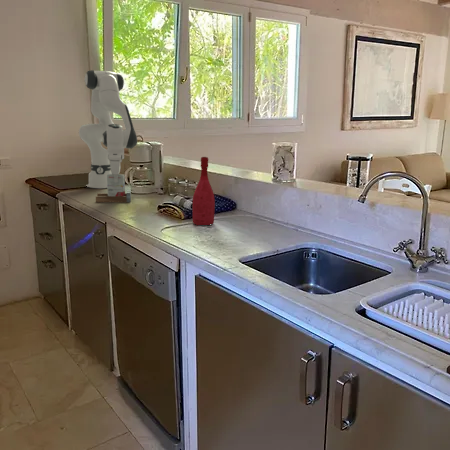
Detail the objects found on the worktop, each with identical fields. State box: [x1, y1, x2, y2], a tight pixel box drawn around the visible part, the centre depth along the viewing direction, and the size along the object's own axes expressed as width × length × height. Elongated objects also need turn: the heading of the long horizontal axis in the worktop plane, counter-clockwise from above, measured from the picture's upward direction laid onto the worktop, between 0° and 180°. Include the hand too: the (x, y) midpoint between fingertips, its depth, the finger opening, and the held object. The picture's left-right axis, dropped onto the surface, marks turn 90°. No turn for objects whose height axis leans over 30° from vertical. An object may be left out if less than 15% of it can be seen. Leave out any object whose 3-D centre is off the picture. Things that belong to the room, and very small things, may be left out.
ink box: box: [106, 173, 126, 196], centre depth 250 cm, size 9×5×12 cm, turn 86°
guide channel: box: [95, 189, 132, 203], centre depth 252 cm, size 10×18×5 cm, turn 100°
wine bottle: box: [192, 156, 216, 226], centre depth 204 cm, size 10×10×30 cm
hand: (116, 181), depth 250 cm, fingers closed on ink box, 5 cm apart
